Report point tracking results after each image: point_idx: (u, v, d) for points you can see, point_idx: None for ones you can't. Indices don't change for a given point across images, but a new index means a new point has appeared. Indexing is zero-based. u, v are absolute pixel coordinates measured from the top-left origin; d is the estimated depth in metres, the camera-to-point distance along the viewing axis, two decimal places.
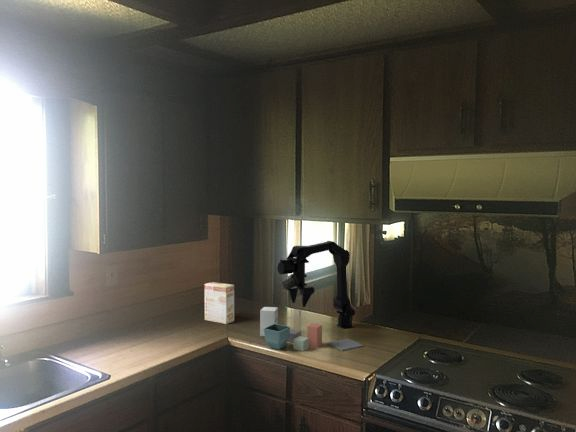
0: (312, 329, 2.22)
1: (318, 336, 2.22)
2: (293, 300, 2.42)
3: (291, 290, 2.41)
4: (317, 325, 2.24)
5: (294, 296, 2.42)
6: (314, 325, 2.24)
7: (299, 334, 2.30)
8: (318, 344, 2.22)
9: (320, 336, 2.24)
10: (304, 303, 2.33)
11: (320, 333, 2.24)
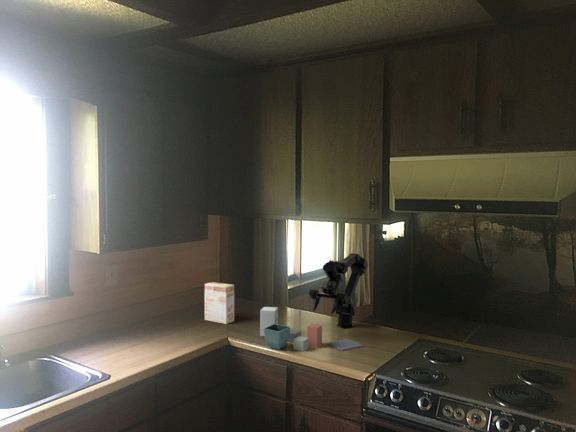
0: (312, 329, 2.22)
1: (318, 336, 2.22)
2: (314, 308, 2.33)
3: (316, 298, 2.36)
4: (317, 325, 2.24)
5: (316, 305, 2.35)
6: (314, 325, 2.24)
7: (299, 334, 2.30)
8: (318, 344, 2.22)
9: (320, 336, 2.24)
10: (334, 309, 2.29)
11: (320, 333, 2.24)
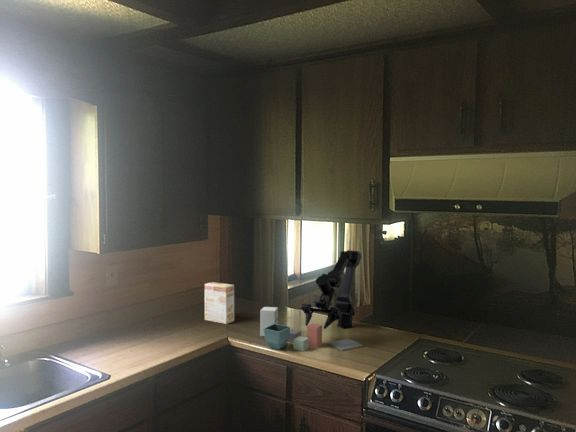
0: (312, 329, 2.22)
1: (318, 336, 2.22)
2: (307, 322, 2.27)
3: (309, 312, 2.30)
4: (317, 325, 2.24)
5: (308, 320, 2.29)
6: (314, 325, 2.24)
7: (299, 334, 2.30)
8: (318, 344, 2.22)
9: (320, 336, 2.24)
10: (326, 324, 2.23)
11: (320, 333, 2.24)
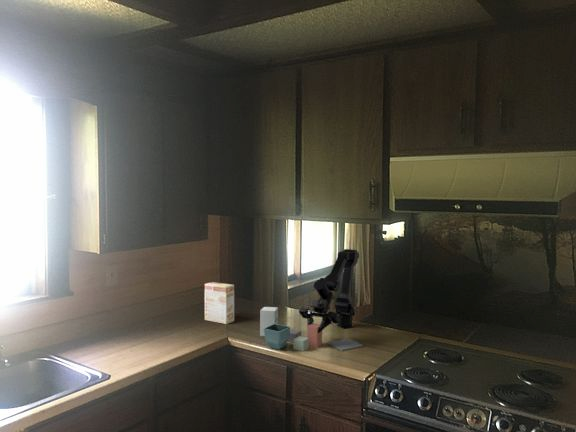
0: (312, 329, 2.22)
1: (318, 336, 2.22)
2: None
3: (310, 317, 2.27)
4: (317, 325, 2.24)
5: None
6: (314, 325, 2.24)
7: (299, 334, 2.30)
8: (318, 344, 2.22)
9: (320, 336, 2.24)
10: (321, 328, 2.22)
11: (320, 333, 2.24)
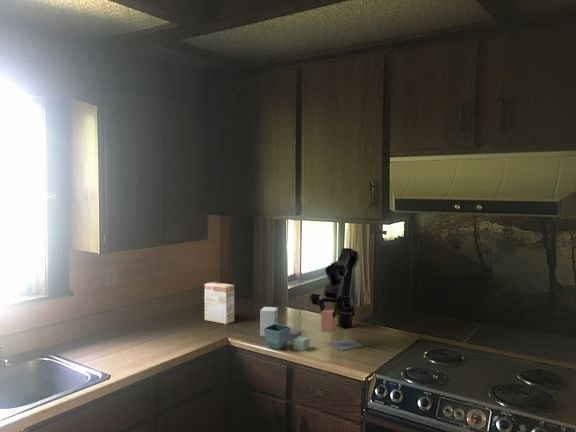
0: (327, 314, 2.21)
1: (333, 321, 2.21)
2: None
3: (323, 303, 2.26)
4: (331, 310, 2.23)
5: None
6: (328, 310, 2.23)
7: (299, 334, 2.30)
8: (333, 329, 2.22)
9: (334, 321, 2.23)
10: (335, 313, 2.22)
11: (334, 318, 2.23)
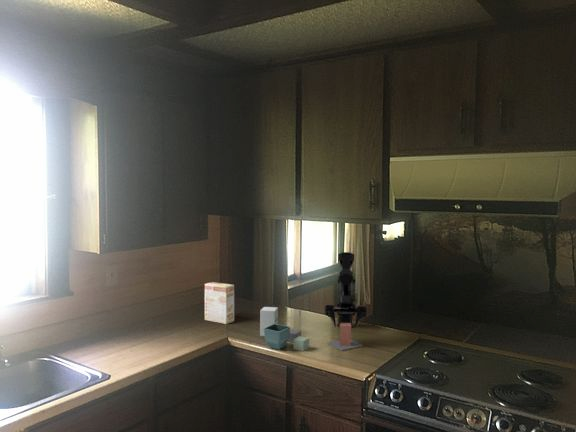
0: (346, 328, 2.22)
1: None
2: (335, 324, 2.24)
3: None
4: (347, 323, 2.25)
5: None
6: (345, 324, 2.24)
7: (299, 334, 2.30)
8: (350, 342, 2.23)
9: None
10: (357, 323, 2.23)
11: None
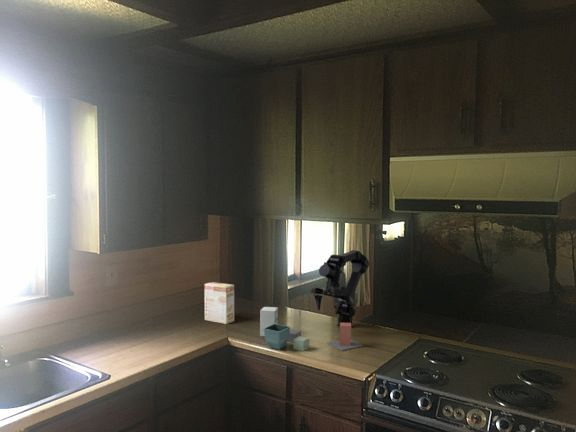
0: (346, 328, 2.22)
1: None
2: None
3: None
4: (347, 323, 2.25)
5: None
6: (345, 324, 2.24)
7: (299, 334, 2.30)
8: (350, 342, 2.23)
9: None
10: None
11: None
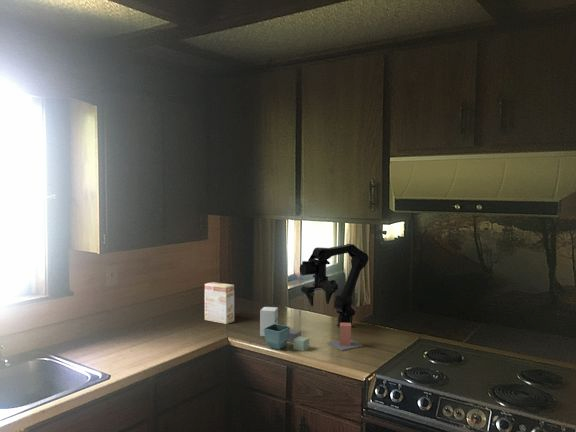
0: (346, 328, 2.22)
1: None
2: None
3: None
4: (347, 323, 2.25)
5: None
6: (345, 324, 2.24)
7: (299, 334, 2.30)
8: (350, 342, 2.23)
9: None
10: None
11: None
